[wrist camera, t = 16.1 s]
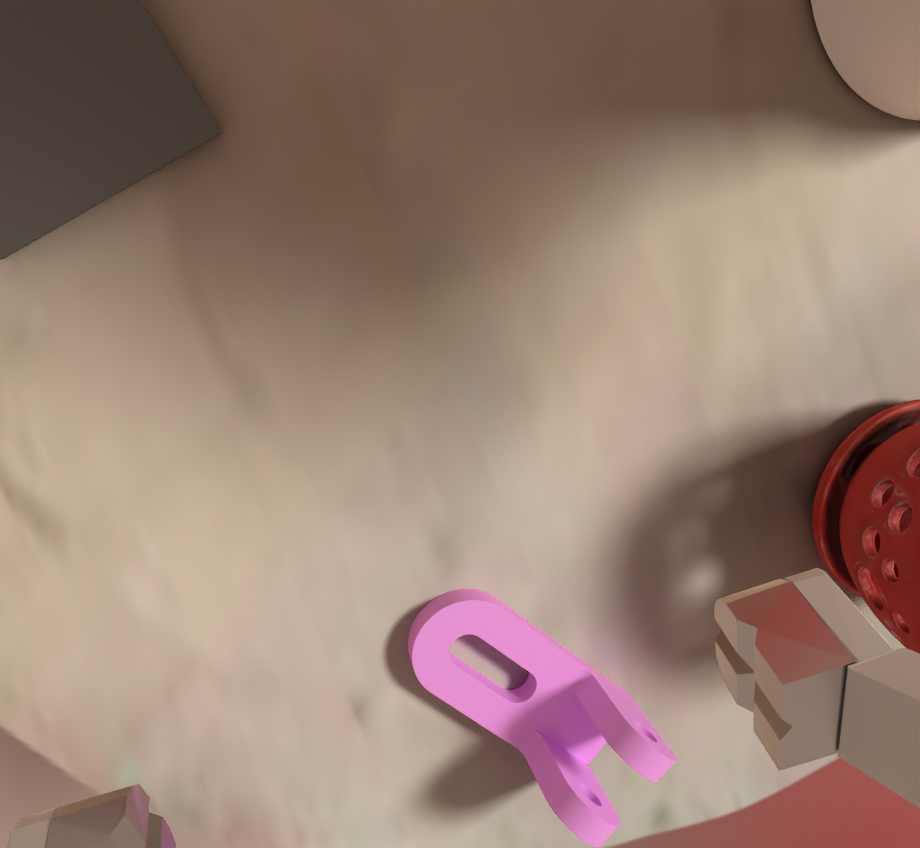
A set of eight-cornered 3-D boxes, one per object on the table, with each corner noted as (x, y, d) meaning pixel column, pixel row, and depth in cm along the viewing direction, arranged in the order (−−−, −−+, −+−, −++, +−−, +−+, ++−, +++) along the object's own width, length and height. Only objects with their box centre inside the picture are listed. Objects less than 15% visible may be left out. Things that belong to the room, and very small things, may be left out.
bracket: (627, 692, 47) (688, 772, 41) (561, 767, 48) (612, 859, 41) (455, 567, 43) (494, 635, 36) (384, 651, 43) (410, 734, 37)
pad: (66, -120, 31) (60, -130, 30) (221, 132, 35) (220, 131, 34) (-179, 14, 31) (-193, 8, 30) (4, 258, 34) (-3, 260, 33)
